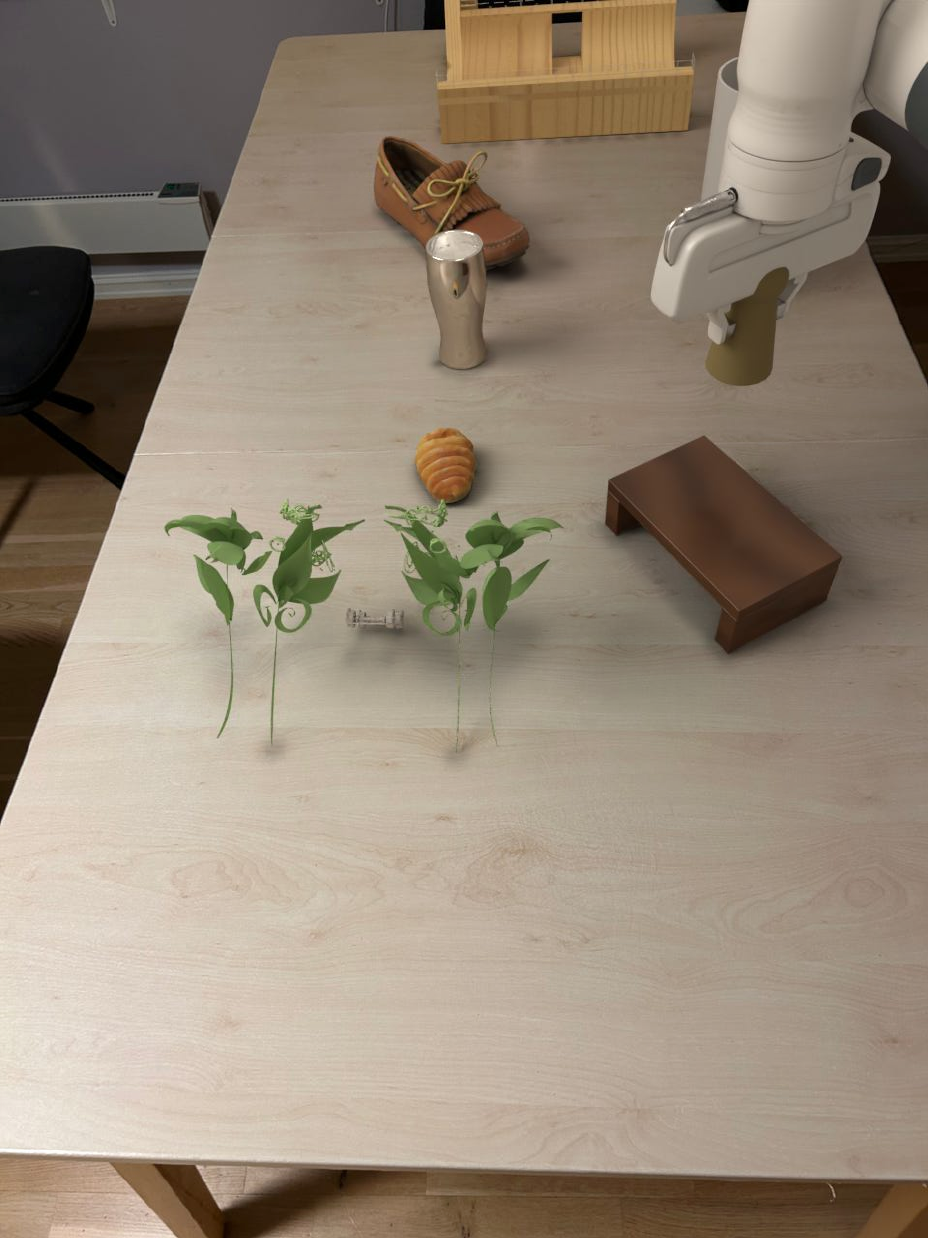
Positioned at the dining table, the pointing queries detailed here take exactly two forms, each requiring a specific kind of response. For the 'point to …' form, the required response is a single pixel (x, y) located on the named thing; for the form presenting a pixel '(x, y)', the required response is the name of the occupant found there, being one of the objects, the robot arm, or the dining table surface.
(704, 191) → the cylinder vase
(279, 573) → the plant cuttings
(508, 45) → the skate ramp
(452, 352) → the beer glass
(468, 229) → the moccasin
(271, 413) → the dining table surface
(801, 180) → the robot arm
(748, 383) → the olive yellow pawn
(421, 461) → the pastry
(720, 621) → the shelf
